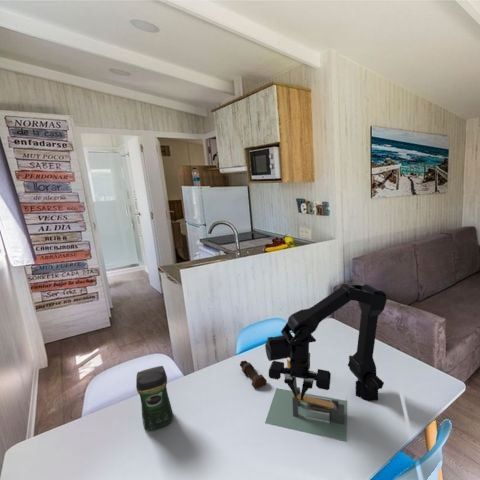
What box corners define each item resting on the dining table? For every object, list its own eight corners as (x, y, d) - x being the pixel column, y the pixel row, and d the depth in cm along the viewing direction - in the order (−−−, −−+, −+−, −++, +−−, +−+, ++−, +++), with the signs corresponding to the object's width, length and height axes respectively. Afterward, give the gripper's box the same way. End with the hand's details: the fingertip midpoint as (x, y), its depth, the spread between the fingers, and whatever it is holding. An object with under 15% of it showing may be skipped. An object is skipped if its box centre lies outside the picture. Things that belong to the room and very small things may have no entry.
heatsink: (330, 407, 95) (330, 398, 94) (329, 425, 88) (329, 415, 88) (308, 403, 97) (308, 394, 97) (305, 420, 91) (305, 410, 90)
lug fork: (300, 403, 98) (300, 387, 97) (297, 417, 92) (297, 400, 91) (296, 402, 98) (295, 386, 97) (293, 416, 93) (292, 399, 92)
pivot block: (344, 413, 92) (344, 401, 91) (344, 424, 88) (344, 412, 87) (332, 411, 94) (331, 399, 93) (331, 421, 89) (331, 409, 89)
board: (347, 403, 97) (347, 400, 97) (346, 444, 83) (346, 441, 83) (276, 390, 106) (276, 388, 106) (265, 425, 91) (264, 423, 91)
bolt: (245, 371, 121) (262, 392, 107) (235, 368, 119) (251, 390, 105) (250, 357, 121) (268, 377, 108) (240, 355, 119) (257, 375, 106)
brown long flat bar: (336, 405, 92) (336, 402, 91) (336, 411, 89) (336, 409, 89) (293, 394, 96) (293, 391, 96) (292, 400, 94) (292, 397, 93)
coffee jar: (171, 407, 102) (165, 360, 98) (174, 425, 94) (167, 374, 90) (142, 416, 99) (134, 367, 95) (143, 435, 91) (134, 383, 87)
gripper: (332, 345, 95) (330, 386, 98) (276, 336, 101) (276, 375, 105) (330, 366, 85) (328, 411, 88) (267, 354, 91) (268, 397, 94)
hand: (299, 397), depth 94 cm, fingers closed on brown long flat bar
